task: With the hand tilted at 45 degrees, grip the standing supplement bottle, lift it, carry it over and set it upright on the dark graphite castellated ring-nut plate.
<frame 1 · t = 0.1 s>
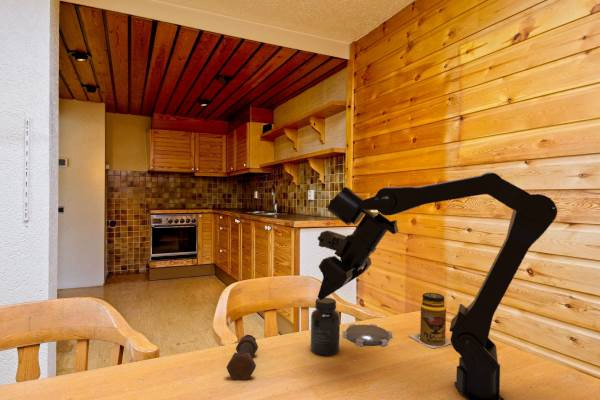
hand: (327, 293, 81), 15 cm above the table, tool tilted 35°, fingers open, 9 cm apart
condiment: (430, 340, 93), on the table
supplement bottle: (324, 351, 85), on the table
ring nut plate: (367, 336, 94), on the table
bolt: (245, 364, 79), on the table
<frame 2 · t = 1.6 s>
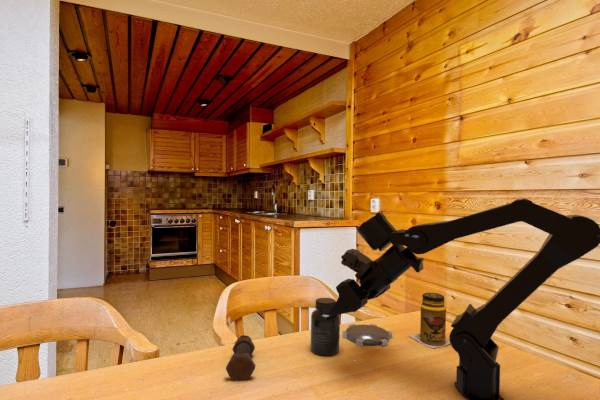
hand: (340, 308, 83), 11 cm above the table, tool tilted 45°, fingers open, 9 cm apart
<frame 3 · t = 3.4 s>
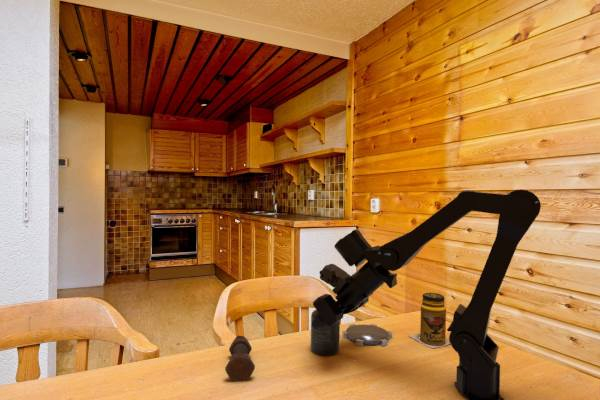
hand: (320, 321, 86), 7 cm above the table, tool tilted 45°, fingers closed on supplement bottle, 7 cm apart
supplement bottle: (324, 351, 85), on the table, touching gripper
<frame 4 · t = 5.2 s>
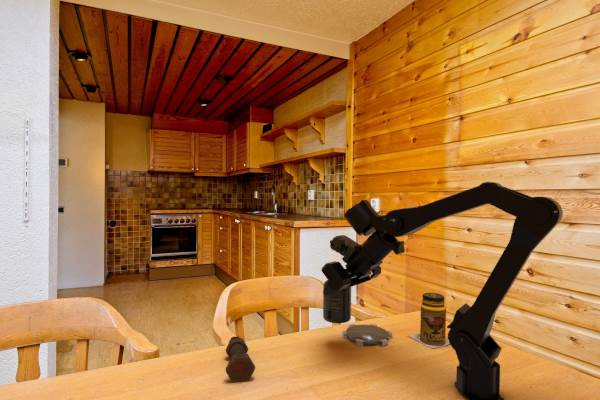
hand: (332, 291, 89), 13 cm above the table, tool tilted 45°, fingers closed on supplement bottle, 7 cm apart
supplement bottle: (336, 319, 88), point 6 cm above the table, touching gripper
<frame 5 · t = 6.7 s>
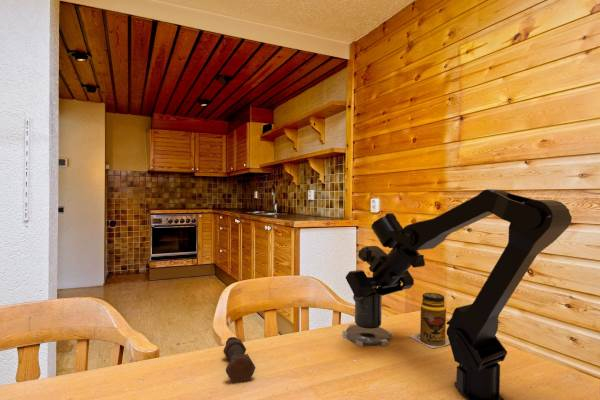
hand: (364, 297, 95), 10 cm above the table, tool tilted 45°, fingers closed on supplement bottle, 7 cm apart
supplement bottle: (367, 325, 94), point 3 cm above the table, touching gripper
when the fingers open (9 cm above the table, at t = 7.5 s): supplement bottle drops 1 cm, resting on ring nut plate.
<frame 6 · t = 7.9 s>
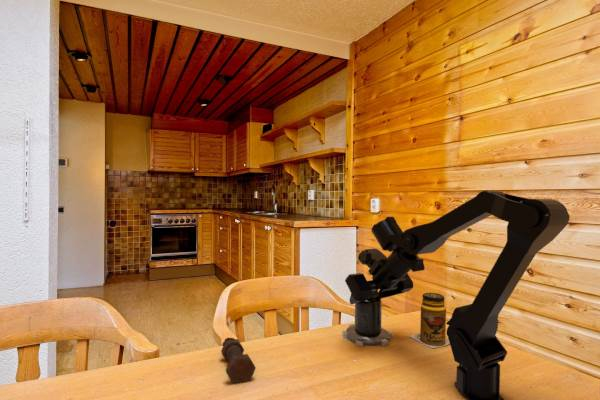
hand: (364, 300, 95), 9 cm above the table, tool tilted 45°, fingers open, 9 cm apart
supplement bottle: (367, 333, 94), point 1 cm above the table, touching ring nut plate
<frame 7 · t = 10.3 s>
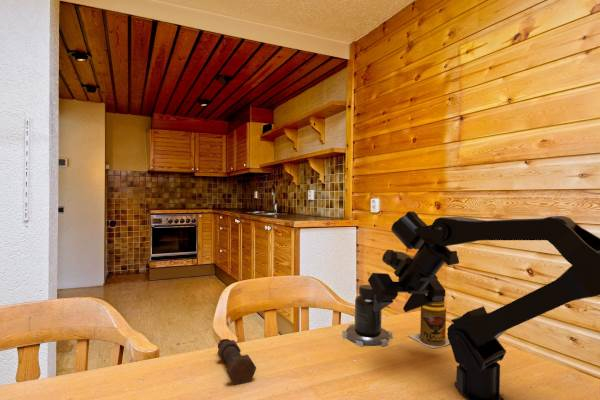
hand: (389, 310, 85), 10 cm above the table, tool tilted 35°, fingers open, 9 cm apart
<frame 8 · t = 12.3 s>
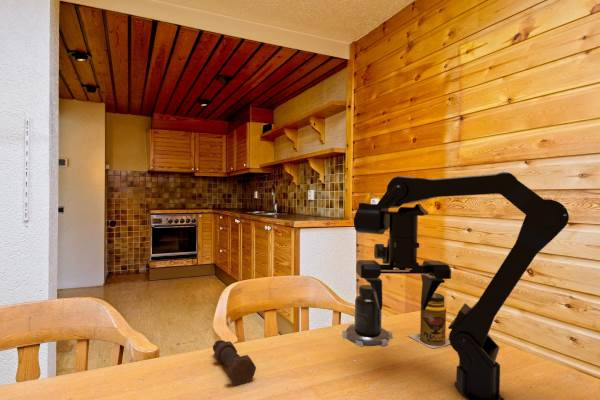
hand: (401, 309, 76), 13 cm above the table, tool pointing down, fingers open, 9 cm apart
at the end: supplement bottle 0.2 cm off-centre on the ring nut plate, point 1.0 cm above the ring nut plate's base; supplement bottle tilted 0°; the gripper is holding nothing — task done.
